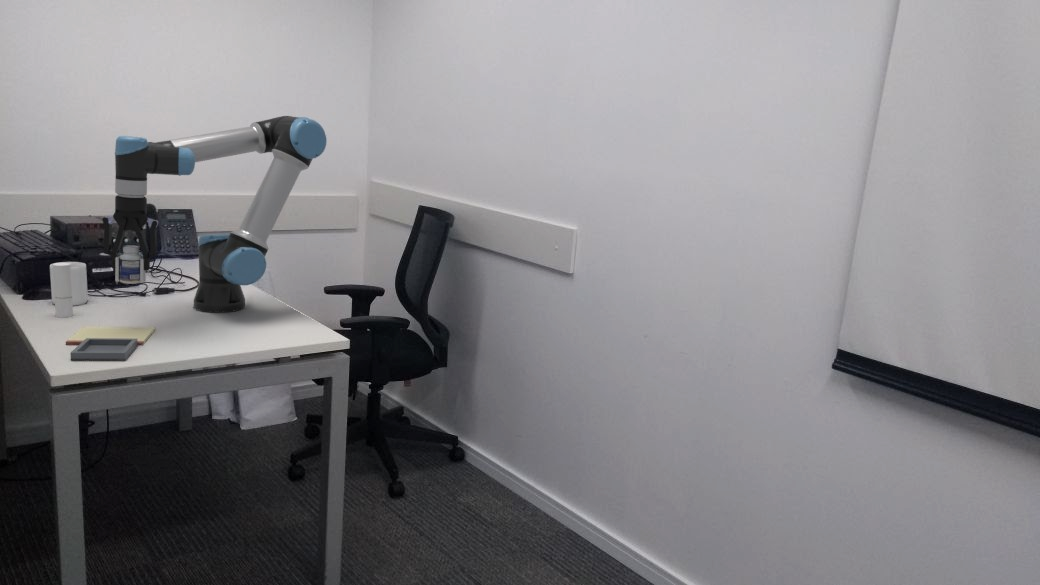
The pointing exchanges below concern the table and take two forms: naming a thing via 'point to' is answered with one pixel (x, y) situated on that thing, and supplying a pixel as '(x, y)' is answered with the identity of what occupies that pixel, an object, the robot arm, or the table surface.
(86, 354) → the tray
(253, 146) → the robot arm
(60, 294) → the tube
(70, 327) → the table surface
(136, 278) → the pill bottle
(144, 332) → the notepad
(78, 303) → the mug
